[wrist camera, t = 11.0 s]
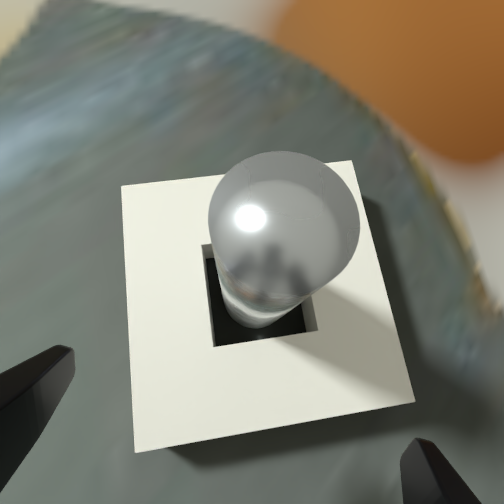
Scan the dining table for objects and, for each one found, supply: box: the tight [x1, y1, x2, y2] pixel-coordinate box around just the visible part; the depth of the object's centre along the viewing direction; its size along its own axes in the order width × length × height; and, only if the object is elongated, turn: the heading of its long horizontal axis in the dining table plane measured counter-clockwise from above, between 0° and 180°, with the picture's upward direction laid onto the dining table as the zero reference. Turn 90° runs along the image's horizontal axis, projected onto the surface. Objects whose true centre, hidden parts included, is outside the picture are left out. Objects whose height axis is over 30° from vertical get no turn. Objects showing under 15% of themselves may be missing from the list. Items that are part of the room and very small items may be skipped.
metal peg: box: [208, 151, 360, 328], centre depth 15 cm, size 4×4×13 cm
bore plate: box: [121, 160, 415, 453], centre depth 20 cm, size 14×14×3 cm
